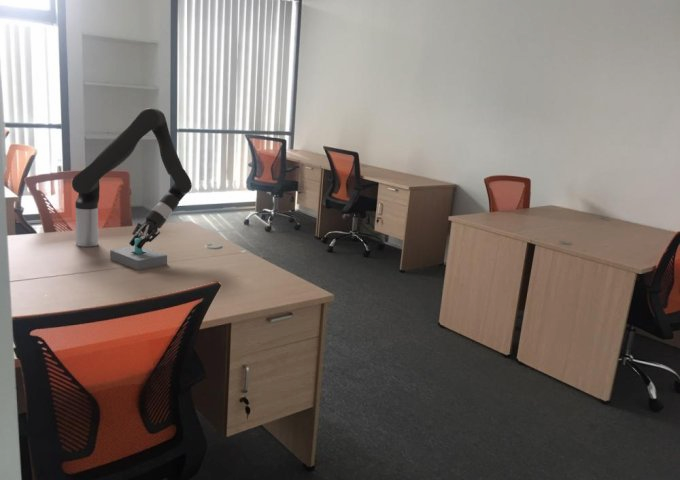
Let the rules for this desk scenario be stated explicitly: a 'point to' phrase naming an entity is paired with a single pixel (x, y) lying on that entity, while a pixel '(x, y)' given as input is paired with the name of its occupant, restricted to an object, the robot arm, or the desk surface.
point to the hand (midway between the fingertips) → (134, 246)
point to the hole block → (138, 258)
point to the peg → (137, 250)
